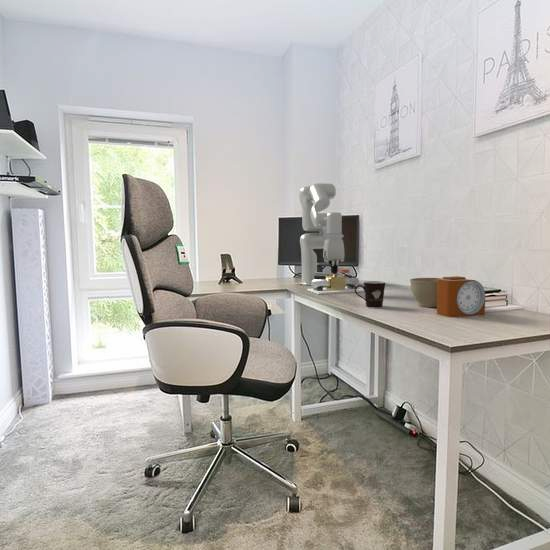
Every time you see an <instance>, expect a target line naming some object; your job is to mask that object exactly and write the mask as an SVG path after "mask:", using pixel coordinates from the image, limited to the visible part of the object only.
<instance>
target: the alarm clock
mask: <svg viewBox="0 0 550 550" xmlns="http://www.w3.org/2000/svg"><path fill="white" fill-rule="evenodd" d="M439 278H440V279H438V284H437V307H436V314H437V315H440V316H443V315H444V317H447V316H448V317H449V318H458V317H459V316H461V317H469V316H470V317H472V316H481V315H482V316H485V313H486V291H485V288H484V286H483V284H482V283H481V282H479V281H477V280H475V279H468V278H466V276H458V275H457V276H443V277H439Z"/></svg>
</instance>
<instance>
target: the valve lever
mask: <svg viewBox="0 0 550 550" xmlns="http://www.w3.org/2000/svg"><path fill="white" fill-rule="evenodd" d="M337 273H341V274H349V273H350V269H347V268H339V267H338V271H337Z"/></svg>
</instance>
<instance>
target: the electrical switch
mask: <svg viewBox="0 0 550 550" xmlns="http://www.w3.org/2000/svg"><path fill="white" fill-rule="evenodd" d="M326 276H331V273H330V272H318V271H317V272H316V273H315V275H314V279H315V280H320V279H325V278H326Z"/></svg>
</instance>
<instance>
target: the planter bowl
mask: <svg viewBox="0 0 550 550" xmlns="http://www.w3.org/2000/svg"><path fill="white" fill-rule="evenodd" d="M440 278H441V277H415V278H410V279H409V281H410V289H411V292H412V295H413V297H414V299H415V300H416V301H417V304H418V306H420V307H425V308H437V284H438V279H440Z"/></svg>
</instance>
